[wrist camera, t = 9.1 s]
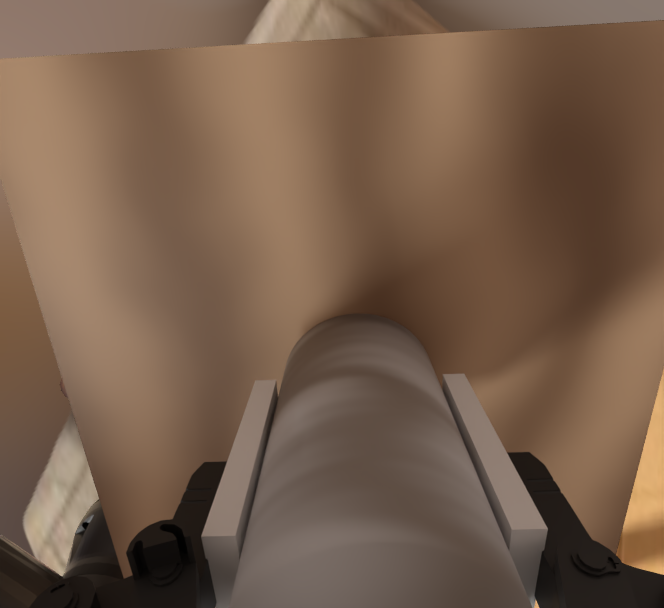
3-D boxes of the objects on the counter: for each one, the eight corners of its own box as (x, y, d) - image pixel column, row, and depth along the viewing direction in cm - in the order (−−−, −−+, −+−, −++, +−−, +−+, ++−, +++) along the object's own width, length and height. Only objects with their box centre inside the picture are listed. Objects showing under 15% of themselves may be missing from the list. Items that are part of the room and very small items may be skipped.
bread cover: (203, 433, 34) (-26, 926, 13) (141, 98, 26) (-869, -117, 4) (510, 424, 34) (817, 932, 12) (551, 76, 25) (1877, -327, 3)
